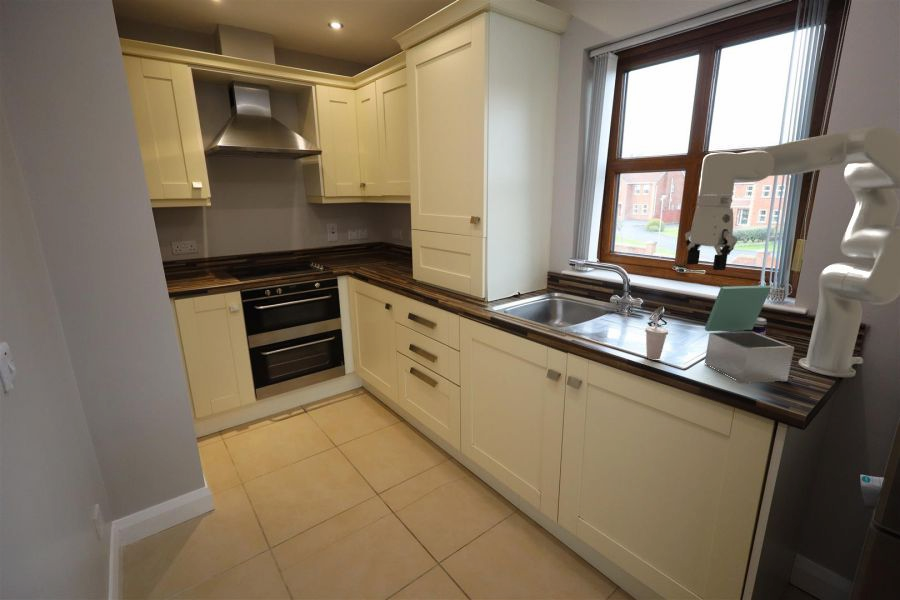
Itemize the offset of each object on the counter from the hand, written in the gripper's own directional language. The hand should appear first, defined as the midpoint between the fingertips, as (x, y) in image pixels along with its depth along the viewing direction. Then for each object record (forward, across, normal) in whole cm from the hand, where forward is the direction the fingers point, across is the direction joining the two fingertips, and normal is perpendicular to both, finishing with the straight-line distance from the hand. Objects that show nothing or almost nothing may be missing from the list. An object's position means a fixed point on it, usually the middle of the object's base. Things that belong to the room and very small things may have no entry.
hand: (705, 266), depth 113 cm
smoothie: (+31, +11, +4) cm, 33 cm away
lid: (+14, +3, -16) cm, 21 cm away
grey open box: (+31, -2, -16) cm, 35 cm away
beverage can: (+32, +11, -30) cm, 45 cm away
